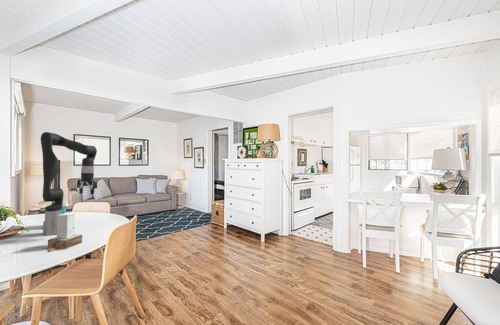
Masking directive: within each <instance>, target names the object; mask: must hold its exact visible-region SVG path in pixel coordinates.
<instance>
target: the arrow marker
mask: <svg viewBox="0 0 500 325" xmlns="http://www.w3.org/2000/svg"><path fill="white" fill-rule="evenodd" d="M57 248H58V247H53V248H48V249H47V251H48V252H53V251H55V249H56V250H58V249H57Z"/></svg>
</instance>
